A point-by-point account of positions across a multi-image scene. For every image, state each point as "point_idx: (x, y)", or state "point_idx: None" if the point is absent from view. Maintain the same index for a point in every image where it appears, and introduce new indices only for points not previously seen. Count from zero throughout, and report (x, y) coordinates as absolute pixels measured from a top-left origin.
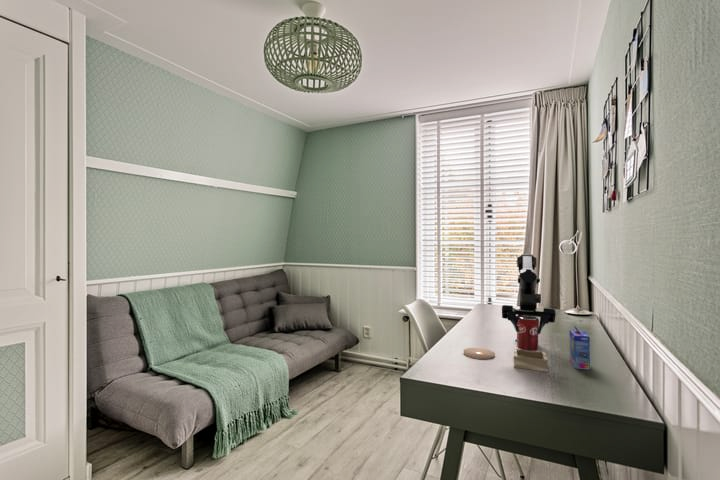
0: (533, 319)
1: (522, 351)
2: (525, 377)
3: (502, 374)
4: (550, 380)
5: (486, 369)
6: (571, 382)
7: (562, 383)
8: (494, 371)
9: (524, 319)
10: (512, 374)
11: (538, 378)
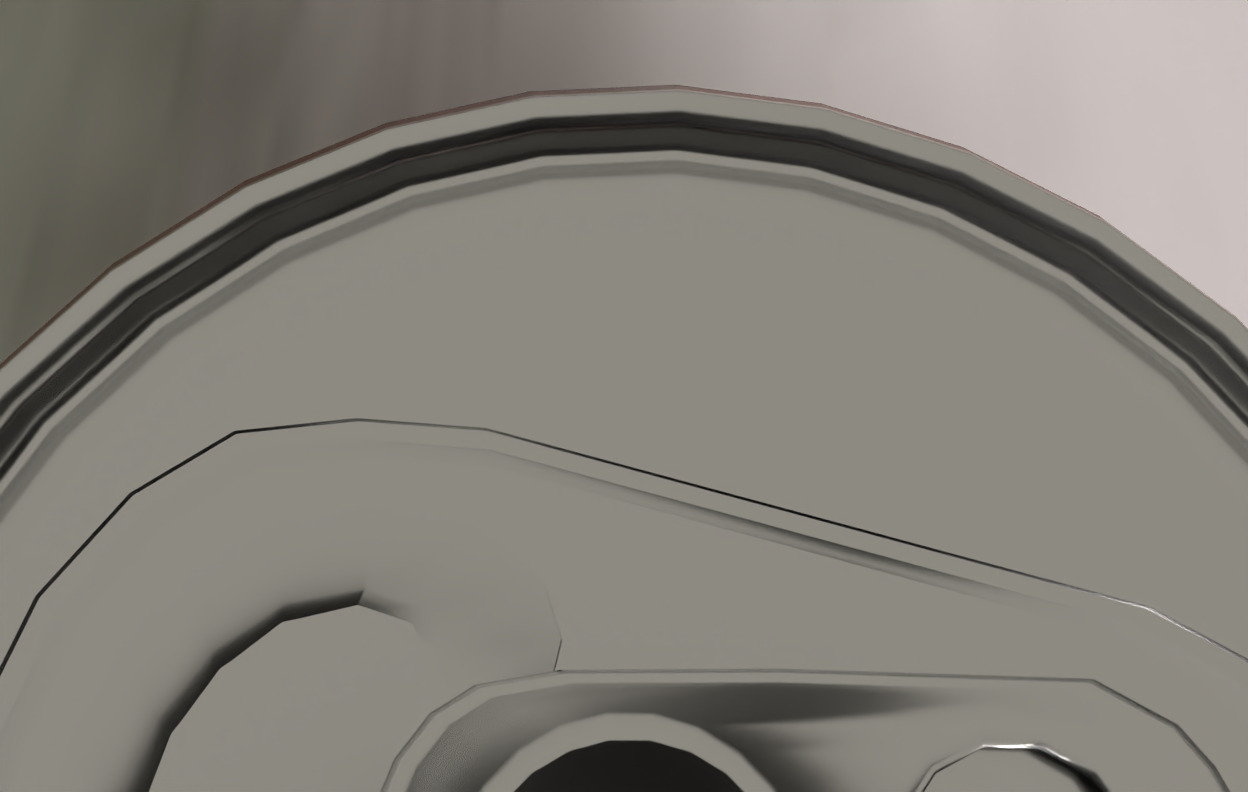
0: (220, 204)
1: None
2: (637, 56)
3: (957, 41)
4: (297, 81)
5: (1219, 156)
6: (9, 124)
7: (148, 32)
8: (1089, 119)
9: (914, 135)
10: (823, 102)
11: (458, 92)
